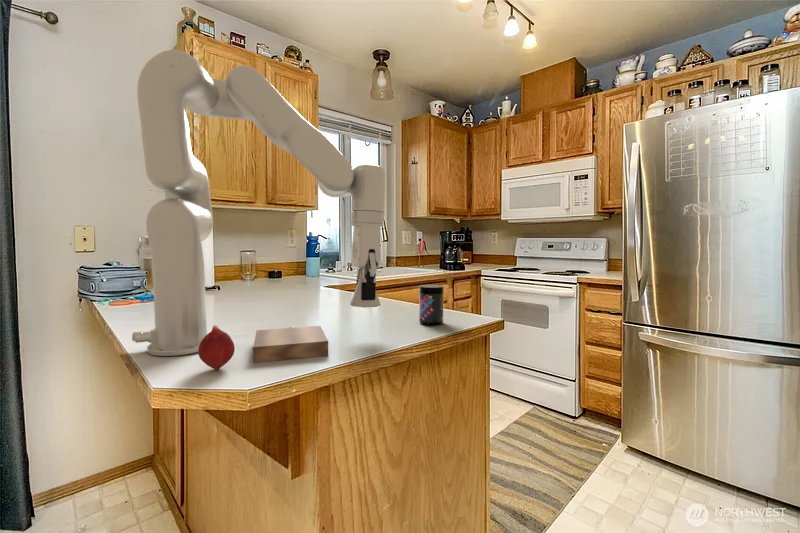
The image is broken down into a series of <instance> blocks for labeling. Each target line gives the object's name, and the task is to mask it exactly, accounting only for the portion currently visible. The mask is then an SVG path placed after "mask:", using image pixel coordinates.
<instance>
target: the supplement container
mask: <svg viewBox="0 0 800 533" xmlns="http://www.w3.org/2000/svg"><path fill="white" fill-rule="evenodd" d="M418 290H419V291H418V292H419V294H418V295H419V298H418V300H419V301H418V304H419V305H418V306H419V308H418V311H419V312H418V313H419V318H418V319H419V320H418V321H419V324H421V325H423V326H428V327H429V326H430V327H432V326H436V327H437V326H440V325H442V324H443V323H444V293H445V291H444V285H441V284H420V285H418Z"/></svg>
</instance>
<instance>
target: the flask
mask: <svg viewBox="0 0 800 533" xmlns="http://www.w3.org/2000/svg"><path fill="white" fill-rule="evenodd" d="M365 268H368V269H369V267H365ZM366 273H367V272H366ZM362 283H363V267H362V268H361V272H360V277H359V281H358V284H357V283H356V284H357V287H356V286H355V287H356V288H355V290H354V293H353V295H352V298H351V300H350V303H349V305H350V306H351V307H355V308H356V307H357V308H377V307H380V306H382V305H381V301H380V298H379V295H378V291H376V295H375V300H362V299H361V284H362Z"/></svg>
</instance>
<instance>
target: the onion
mask: <svg viewBox="0 0 800 533" xmlns="http://www.w3.org/2000/svg"><path fill="white" fill-rule="evenodd" d="M235 349H236V348H235V343H234V340H233V339H232V338H231V336H230V334H228V333H226V331H223V330H222V329H220V328H219V327H218V325H217V324H214V325H213V326H212V327H211V330H210V332H207V335H206V336H205V337H204V338H203V339H202V341H201V343H200V345H199V351H198V352H197V354H198V356H199V359H200V360H201V362H203V363H204V364H205V365H206V366H208V367H210V368H211V369H213V370H215V371H217V370H219V369H221V368H222V367H223V366H226V364H227V363H228V362H230V360H231V359H232V358H233V356H234V354H235Z"/></svg>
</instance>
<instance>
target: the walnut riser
mask: <svg viewBox="0 0 800 533" xmlns="http://www.w3.org/2000/svg"><path fill="white" fill-rule="evenodd" d="M254 336H255V337H254V342H253V346H252V347H253V350H252V351H253V363H255V364H256V363H264V362H273V361H274V362H275V361H286V360H287V361H288V360H297V359H306V358H318V357H329V340H328V338H327V336H326V334H325V332H324V330H323V328H322V327H321V325H313V326H301V327H300V326H299V327H298V326H297V327H284V328H273V329H272V328H270V329H258V330H256V332H255V335H254Z"/></svg>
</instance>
